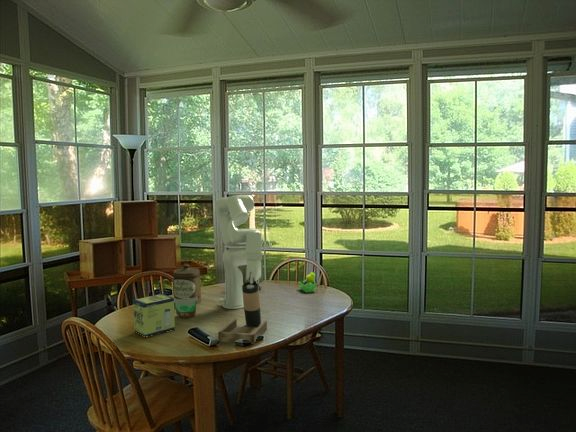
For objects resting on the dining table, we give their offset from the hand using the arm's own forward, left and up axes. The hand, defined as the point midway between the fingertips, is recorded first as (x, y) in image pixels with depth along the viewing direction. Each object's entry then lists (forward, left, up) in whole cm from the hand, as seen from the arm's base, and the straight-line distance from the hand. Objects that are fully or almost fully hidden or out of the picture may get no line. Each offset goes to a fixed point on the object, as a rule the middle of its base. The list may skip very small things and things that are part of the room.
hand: (254, 294), depth 229 cm
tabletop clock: (-23, +64, -15) cm, 70 cm away
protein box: (-42, -21, -15) cm, 49 cm away
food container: (-37, +2, -15) cm, 40 cm away
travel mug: (0, -3, -14) cm, 14 cm away
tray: (0, -18, -14) cm, 23 cm away
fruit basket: (+13, +68, -15) cm, 71 cm away
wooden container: (-49, +29, -15) cm, 59 cm away
